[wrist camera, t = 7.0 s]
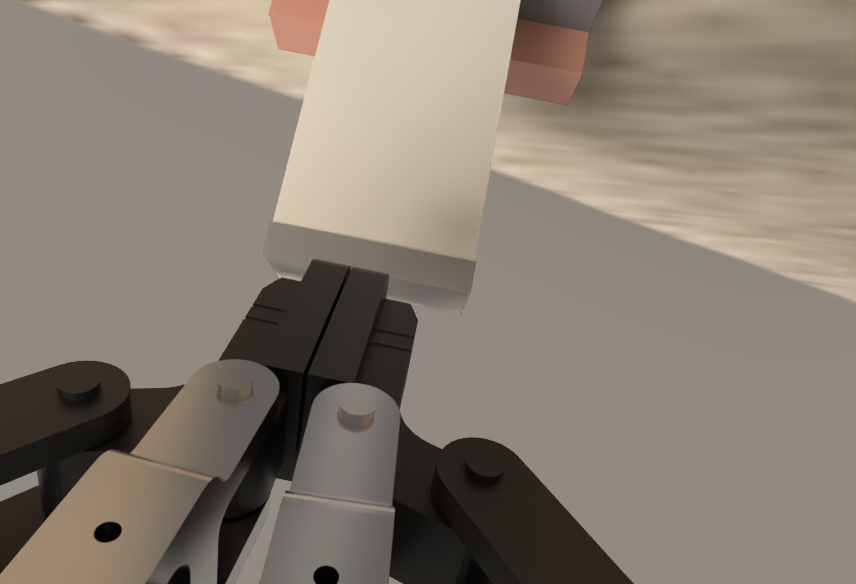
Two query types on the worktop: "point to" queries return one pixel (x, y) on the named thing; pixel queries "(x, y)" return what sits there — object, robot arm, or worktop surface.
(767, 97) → the worktop surface
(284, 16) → the plate
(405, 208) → the handle
